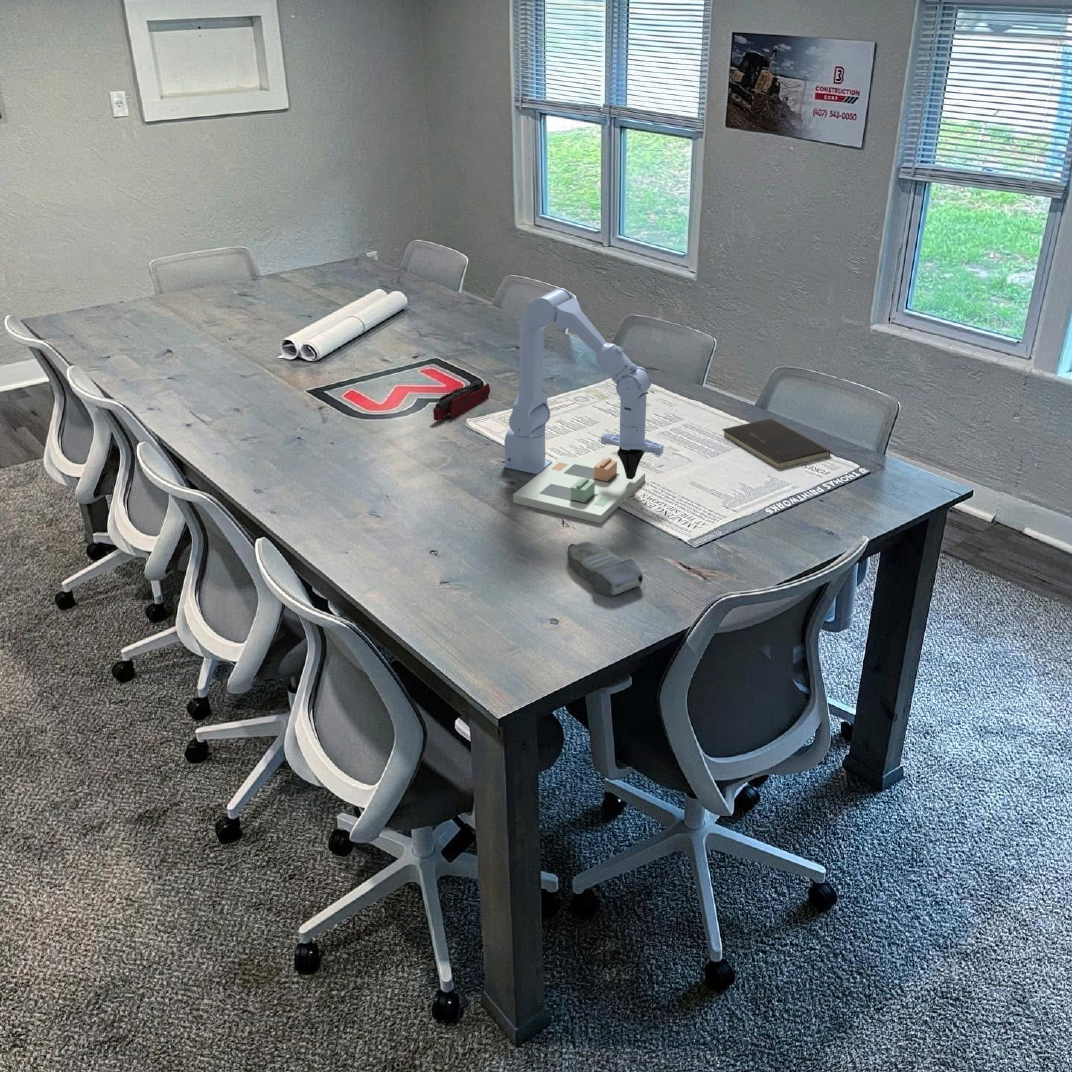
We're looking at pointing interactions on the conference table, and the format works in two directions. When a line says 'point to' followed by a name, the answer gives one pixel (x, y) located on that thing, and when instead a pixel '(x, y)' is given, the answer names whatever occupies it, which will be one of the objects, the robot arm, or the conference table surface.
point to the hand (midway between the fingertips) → (630, 477)
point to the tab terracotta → (605, 469)
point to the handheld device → (604, 568)
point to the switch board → (557, 479)
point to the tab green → (582, 490)
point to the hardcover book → (775, 443)
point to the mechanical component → (461, 400)
